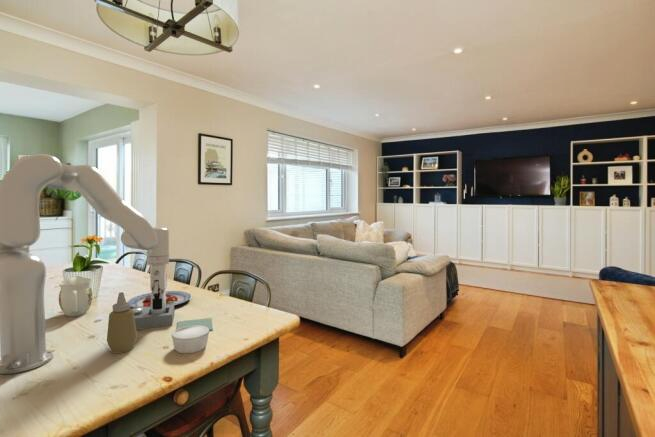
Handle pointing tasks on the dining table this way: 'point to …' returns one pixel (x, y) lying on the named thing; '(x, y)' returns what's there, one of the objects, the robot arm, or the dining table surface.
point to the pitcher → (75, 296)
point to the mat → (196, 323)
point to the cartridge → (163, 310)
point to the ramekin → (190, 338)
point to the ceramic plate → (171, 296)
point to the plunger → (137, 310)
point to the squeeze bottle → (121, 326)
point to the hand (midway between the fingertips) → (158, 306)
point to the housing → (154, 318)
